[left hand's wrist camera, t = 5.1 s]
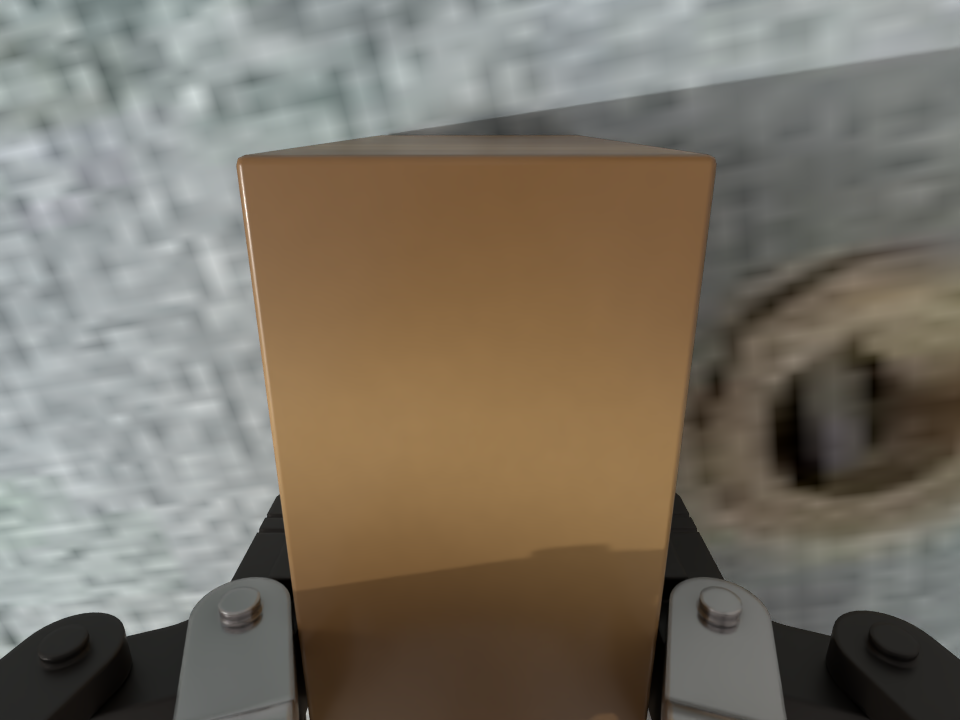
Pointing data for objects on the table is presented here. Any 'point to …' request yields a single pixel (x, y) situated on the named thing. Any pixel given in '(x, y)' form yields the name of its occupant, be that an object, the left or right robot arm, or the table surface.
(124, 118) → the table surface
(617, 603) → the post
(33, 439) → the table surface
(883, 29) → the table surface
